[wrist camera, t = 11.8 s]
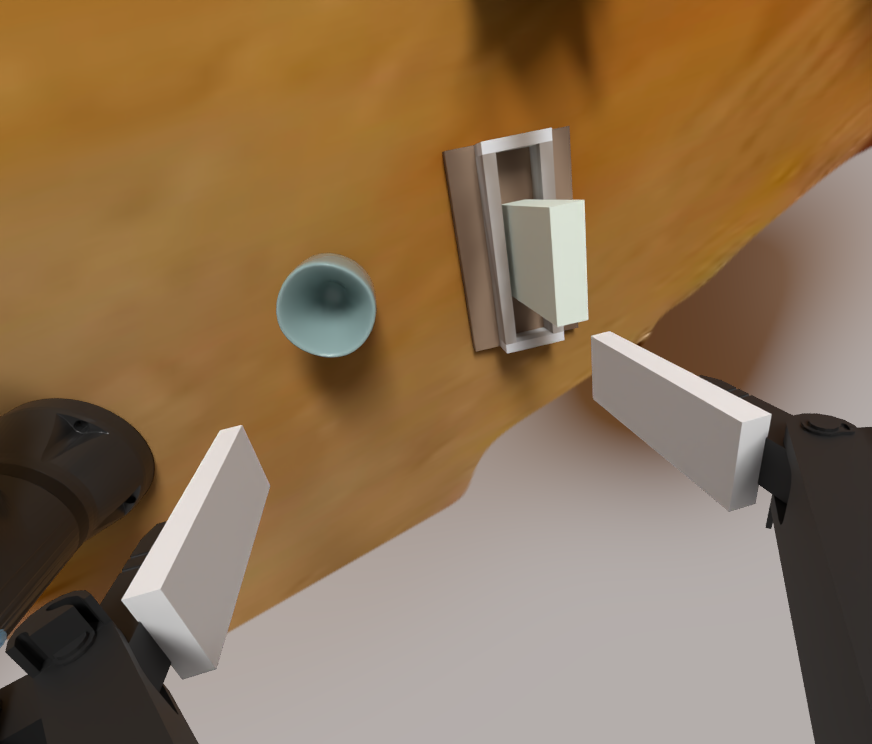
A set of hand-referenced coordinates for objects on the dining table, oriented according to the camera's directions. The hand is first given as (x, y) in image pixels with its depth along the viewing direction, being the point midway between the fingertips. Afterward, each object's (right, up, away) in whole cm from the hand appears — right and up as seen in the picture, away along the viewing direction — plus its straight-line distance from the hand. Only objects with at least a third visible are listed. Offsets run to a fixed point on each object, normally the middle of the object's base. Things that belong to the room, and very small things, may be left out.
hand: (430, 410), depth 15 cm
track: (+9, +14, +27) cm, 32 cm away
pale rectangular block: (+9, +14, +26) cm, 31 cm away
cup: (-10, +10, +26) cm, 30 cm away
